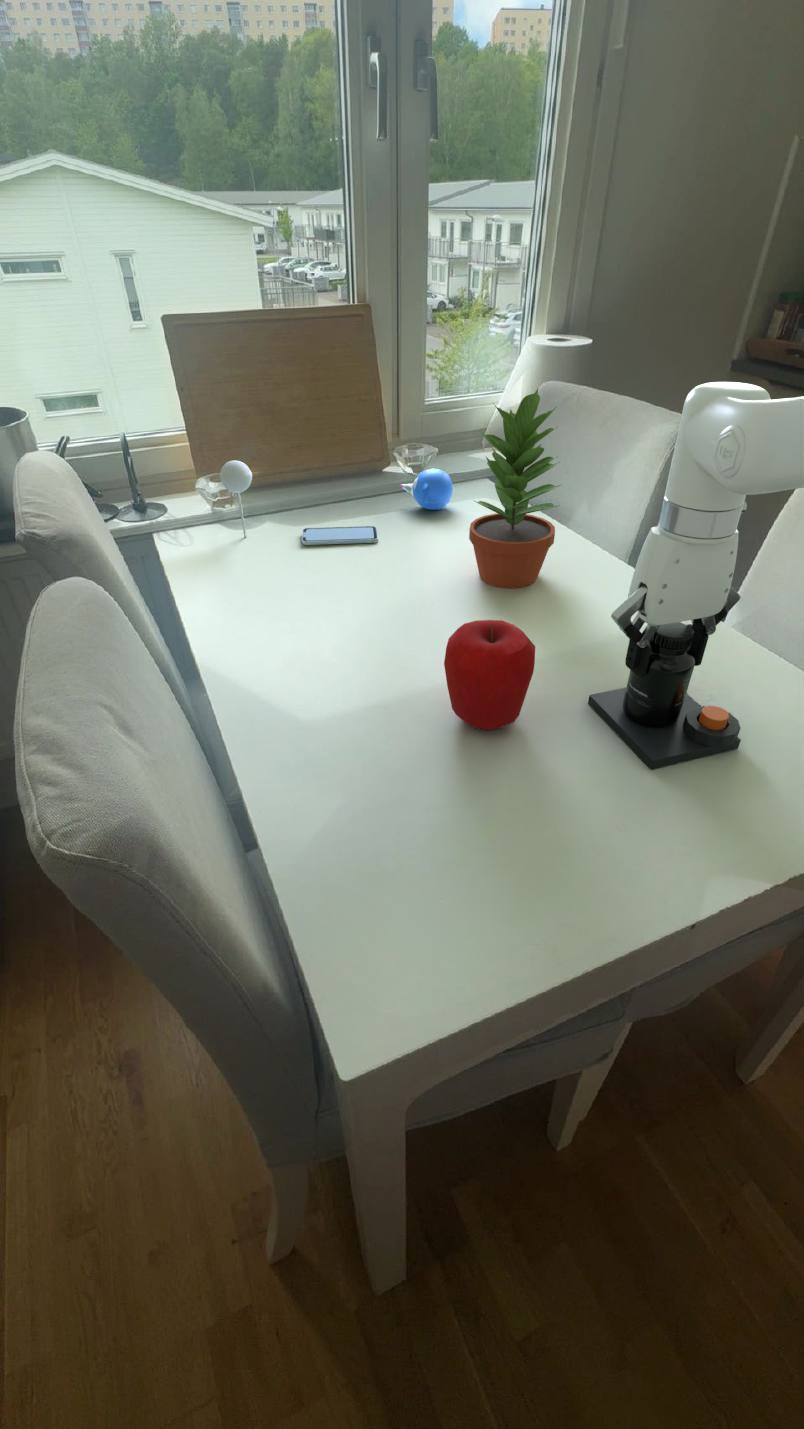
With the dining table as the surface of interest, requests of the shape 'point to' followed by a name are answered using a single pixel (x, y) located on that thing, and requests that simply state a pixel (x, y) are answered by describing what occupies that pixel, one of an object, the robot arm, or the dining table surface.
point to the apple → (488, 672)
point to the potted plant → (515, 503)
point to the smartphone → (339, 535)
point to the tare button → (713, 718)
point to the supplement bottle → (662, 678)
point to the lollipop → (236, 481)
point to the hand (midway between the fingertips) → (662, 664)
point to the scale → (666, 732)
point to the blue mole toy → (431, 489)
